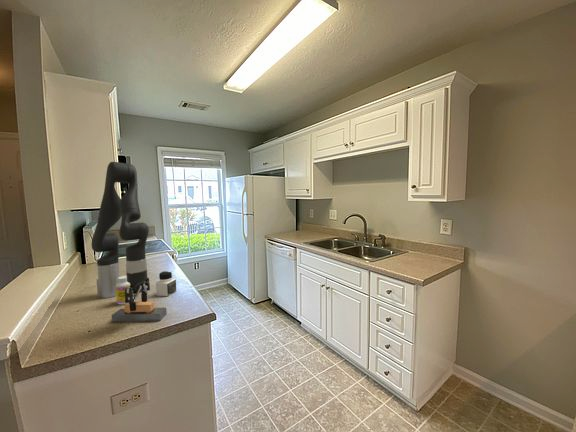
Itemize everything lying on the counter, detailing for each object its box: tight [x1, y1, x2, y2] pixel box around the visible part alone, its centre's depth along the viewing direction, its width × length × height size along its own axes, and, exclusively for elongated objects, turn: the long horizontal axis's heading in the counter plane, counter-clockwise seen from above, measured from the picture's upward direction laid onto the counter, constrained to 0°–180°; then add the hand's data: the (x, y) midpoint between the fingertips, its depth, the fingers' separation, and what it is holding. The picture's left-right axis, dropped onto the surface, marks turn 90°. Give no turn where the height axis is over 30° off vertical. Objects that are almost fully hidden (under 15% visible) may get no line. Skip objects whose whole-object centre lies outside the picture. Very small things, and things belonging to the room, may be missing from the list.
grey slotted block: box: [111, 307, 168, 323], centre depth 107 cm, size 20×6×3 cm, turn 91°
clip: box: [123, 301, 155, 314], centre depth 107 cm, size 11×3×6 cm, turn 91°
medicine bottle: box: [155, 270, 177, 297], centre depth 134 cm, size 7×7×12 cm
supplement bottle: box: [115, 275, 130, 305], centre depth 123 cm, size 7×7×13 cm
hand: (139, 306), depth 107 cm, fingers open, 8 cm apart
